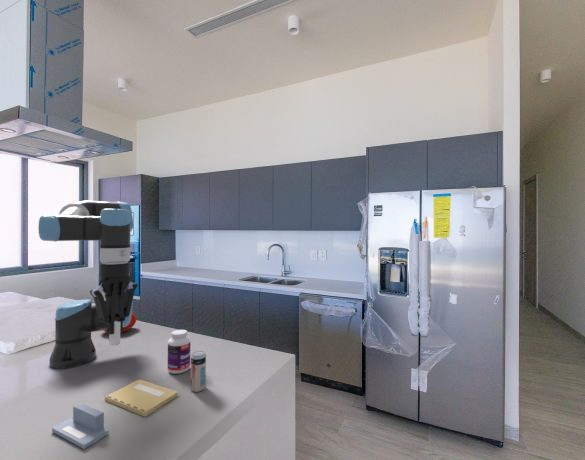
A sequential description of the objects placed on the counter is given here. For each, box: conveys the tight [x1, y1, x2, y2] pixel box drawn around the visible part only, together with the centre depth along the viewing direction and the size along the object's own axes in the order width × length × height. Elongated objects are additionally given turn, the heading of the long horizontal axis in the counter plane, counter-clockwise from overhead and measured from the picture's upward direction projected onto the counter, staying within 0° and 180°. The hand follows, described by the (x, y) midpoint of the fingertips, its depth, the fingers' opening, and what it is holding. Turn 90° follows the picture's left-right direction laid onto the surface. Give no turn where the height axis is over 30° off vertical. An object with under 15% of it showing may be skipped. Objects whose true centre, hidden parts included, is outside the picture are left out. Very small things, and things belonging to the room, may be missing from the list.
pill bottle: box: [167, 329, 191, 375], centre depth 113 cm, size 8×8×14 cm
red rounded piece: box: [102, 312, 137, 333], centre depth 154 cm, size 14×16×10 cm
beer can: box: [190, 350, 207, 393], centre depth 100 cm, size 5×5×12 cm
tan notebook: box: [104, 379, 179, 418], centre depth 94 cm, size 18×12×1 cm, turn 65°
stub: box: [51, 402, 110, 450], centre depth 78 cm, size 14×6×5 cm, turn 65°
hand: (114, 343), depth 86 cm, fingers closed
